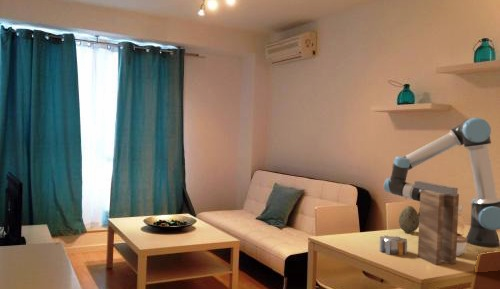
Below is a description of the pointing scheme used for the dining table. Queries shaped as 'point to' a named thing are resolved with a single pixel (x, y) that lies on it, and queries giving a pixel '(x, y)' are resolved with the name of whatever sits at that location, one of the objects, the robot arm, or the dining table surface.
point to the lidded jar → (461, 245)
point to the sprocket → (393, 245)
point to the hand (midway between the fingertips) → (458, 204)
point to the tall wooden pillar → (438, 227)
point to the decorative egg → (409, 219)
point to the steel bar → (436, 188)
